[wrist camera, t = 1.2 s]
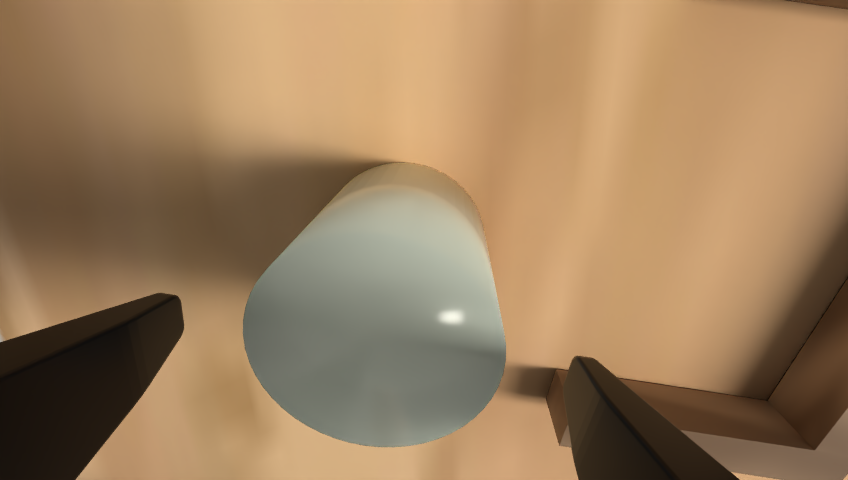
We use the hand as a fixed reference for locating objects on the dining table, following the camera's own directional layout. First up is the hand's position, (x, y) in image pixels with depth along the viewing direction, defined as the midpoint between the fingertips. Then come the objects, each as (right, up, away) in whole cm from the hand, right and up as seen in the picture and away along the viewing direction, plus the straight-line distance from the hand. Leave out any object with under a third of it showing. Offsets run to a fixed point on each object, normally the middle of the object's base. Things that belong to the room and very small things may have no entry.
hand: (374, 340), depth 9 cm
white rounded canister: (0, +2, +5) cm, 5 cm away
